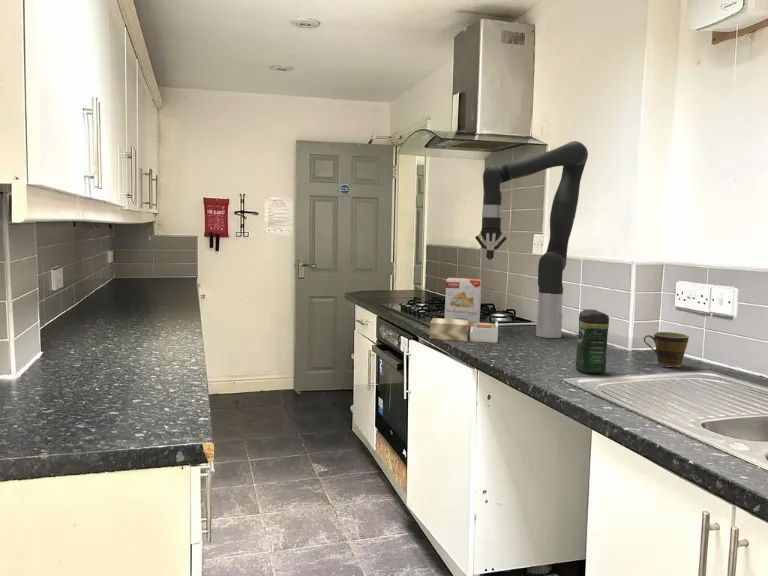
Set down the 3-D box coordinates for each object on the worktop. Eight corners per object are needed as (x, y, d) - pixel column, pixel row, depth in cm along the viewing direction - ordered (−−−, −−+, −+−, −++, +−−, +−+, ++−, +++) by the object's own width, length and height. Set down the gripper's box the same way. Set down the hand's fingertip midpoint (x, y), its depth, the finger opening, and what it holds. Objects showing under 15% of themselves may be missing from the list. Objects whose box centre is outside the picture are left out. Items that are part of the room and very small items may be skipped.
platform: (468, 335, 237) (468, 320, 237) (467, 341, 225) (467, 324, 225) (432, 333, 239) (432, 318, 239) (429, 338, 228) (429, 322, 227)
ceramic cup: (682, 363, 198) (685, 333, 197) (689, 370, 188) (691, 338, 187) (639, 360, 201) (642, 330, 200) (644, 366, 192) (646, 335, 190)
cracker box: (443, 329, 249) (445, 278, 247) (445, 326, 255) (447, 277, 253) (478, 331, 246) (480, 280, 243) (479, 329, 252) (481, 278, 249)
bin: (496, 336, 235) (497, 321, 235) (497, 342, 224) (498, 326, 223) (470, 335, 237) (471, 320, 236) (469, 341, 225) (470, 325, 225)
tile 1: (490, 329, 232) (490, 323, 232) (490, 331, 227) (491, 325, 227) (476, 329, 233) (477, 322, 232) (477, 331, 228) (477, 324, 227)
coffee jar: (609, 375, 179) (613, 312, 177) (582, 374, 179) (586, 312, 177) (597, 367, 189) (602, 308, 187) (572, 366, 189) (576, 307, 187)
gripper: (508, 217, 247) (506, 259, 249) (475, 216, 250) (473, 258, 251) (508, 216, 240) (506, 260, 242) (475, 215, 242) (473, 259, 244)
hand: (489, 259), depth 247 cm, fingers closed
